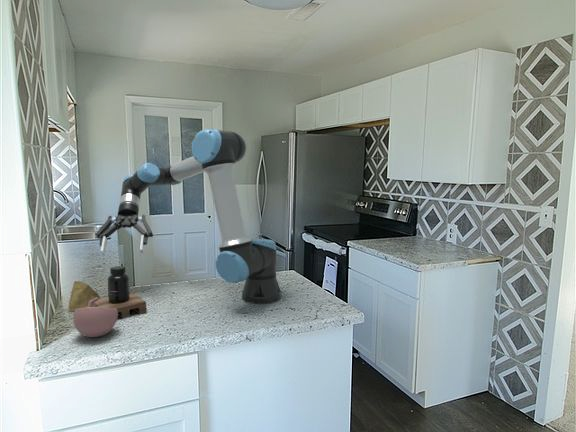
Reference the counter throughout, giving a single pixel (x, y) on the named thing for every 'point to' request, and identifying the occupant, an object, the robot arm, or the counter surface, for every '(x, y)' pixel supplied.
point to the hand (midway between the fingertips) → (122, 252)
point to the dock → (124, 305)
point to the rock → (81, 296)
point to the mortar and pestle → (94, 319)
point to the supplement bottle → (118, 285)
